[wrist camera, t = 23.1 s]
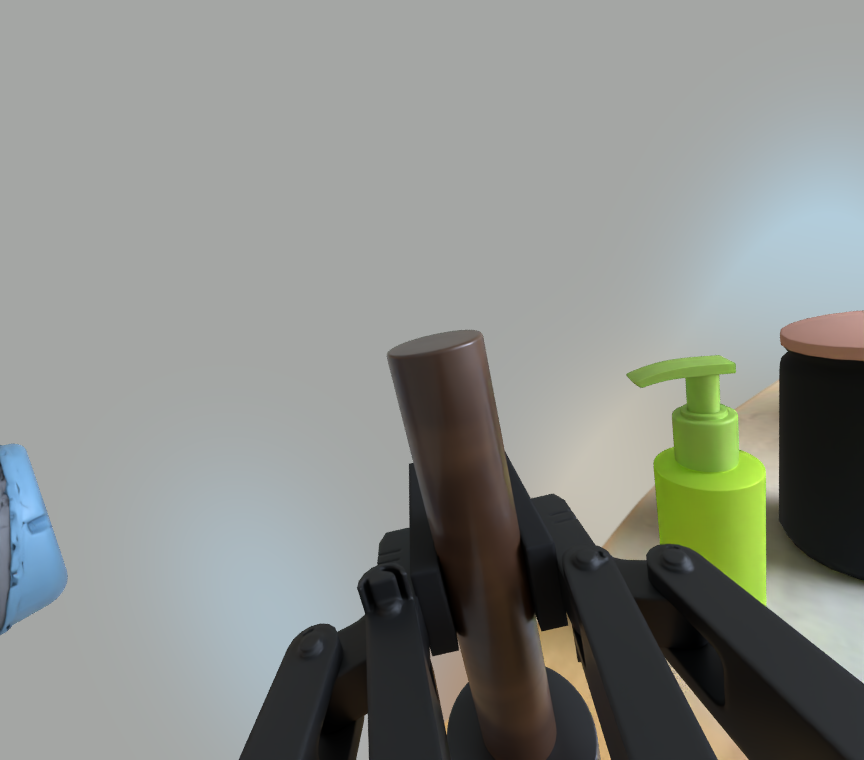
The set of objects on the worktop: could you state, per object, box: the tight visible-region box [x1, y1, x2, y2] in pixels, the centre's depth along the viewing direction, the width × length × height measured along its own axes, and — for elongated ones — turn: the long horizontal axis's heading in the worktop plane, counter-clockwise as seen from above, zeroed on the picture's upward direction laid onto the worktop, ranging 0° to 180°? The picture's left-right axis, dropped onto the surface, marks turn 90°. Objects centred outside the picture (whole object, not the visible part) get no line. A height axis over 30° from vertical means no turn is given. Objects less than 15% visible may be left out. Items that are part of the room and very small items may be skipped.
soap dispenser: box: [627, 355, 766, 606], centre depth 27 cm, size 6×7×20 cm
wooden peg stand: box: [387, 330, 601, 760], centre depth 12 cm, size 5×5×18 cm
